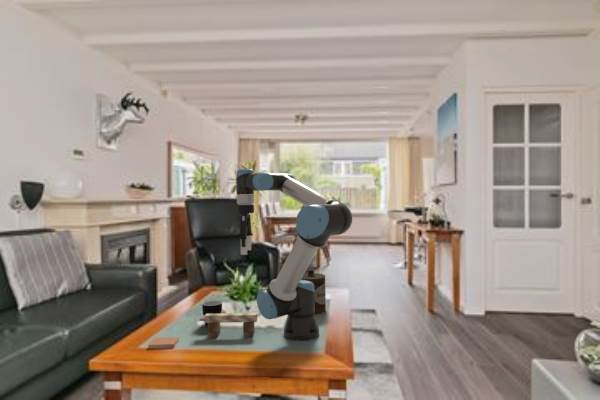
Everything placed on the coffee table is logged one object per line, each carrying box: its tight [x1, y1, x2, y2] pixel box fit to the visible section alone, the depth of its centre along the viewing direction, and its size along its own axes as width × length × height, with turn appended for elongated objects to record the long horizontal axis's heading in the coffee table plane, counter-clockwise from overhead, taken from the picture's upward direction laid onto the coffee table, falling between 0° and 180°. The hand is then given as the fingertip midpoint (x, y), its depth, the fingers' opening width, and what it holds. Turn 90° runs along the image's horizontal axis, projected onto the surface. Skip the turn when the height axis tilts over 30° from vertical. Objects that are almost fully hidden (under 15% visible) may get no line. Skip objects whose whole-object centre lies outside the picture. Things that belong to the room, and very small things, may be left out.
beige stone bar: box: [198, 312, 258, 324], centre depth 173 cm, size 24×5×3 cm, turn 90°
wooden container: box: [301, 267, 327, 316], centre depth 208 cm, size 15×15×22 cm
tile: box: [147, 336, 180, 349], centre depth 163 cm, size 2×8×10 cm
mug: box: [201, 299, 223, 327], centre depth 189 cm, size 12×9×10 cm
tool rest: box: [207, 322, 256, 339], centre depth 173 cm, size 19×6×6 cm, turn 90°
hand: (246, 252), depth 179 cm, fingers open, 13 cm apart
